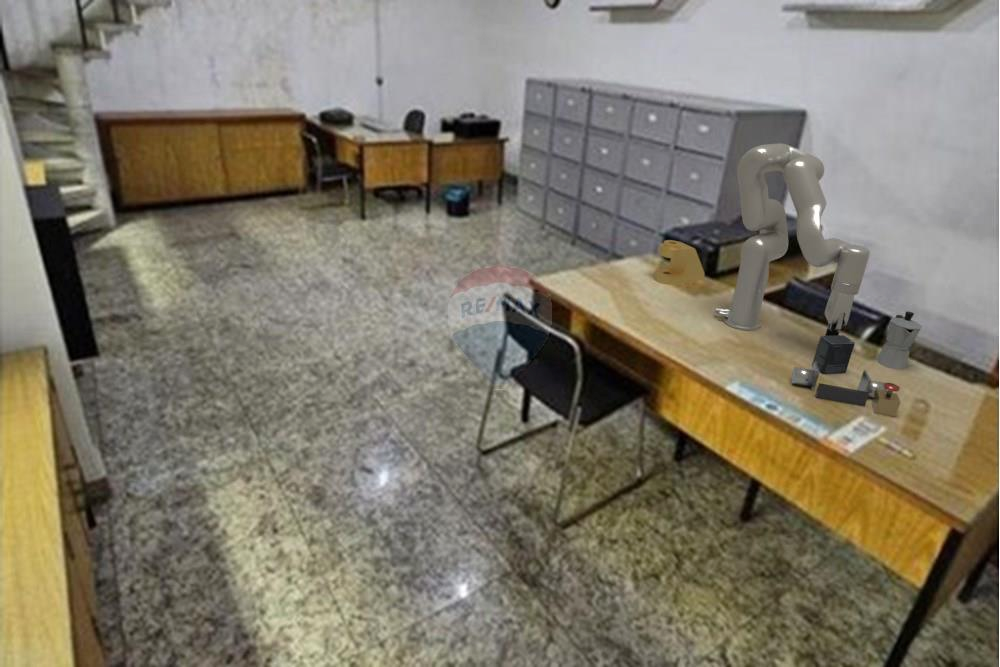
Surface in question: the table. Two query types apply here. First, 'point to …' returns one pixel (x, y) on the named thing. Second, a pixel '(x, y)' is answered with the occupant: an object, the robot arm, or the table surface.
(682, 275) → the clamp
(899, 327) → the coffee maker
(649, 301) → the table surface
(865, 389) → the dark grey bracket shape
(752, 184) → the robot arm
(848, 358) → the box
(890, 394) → the valve
